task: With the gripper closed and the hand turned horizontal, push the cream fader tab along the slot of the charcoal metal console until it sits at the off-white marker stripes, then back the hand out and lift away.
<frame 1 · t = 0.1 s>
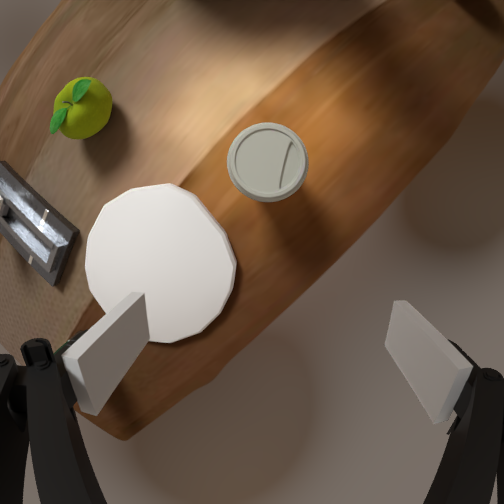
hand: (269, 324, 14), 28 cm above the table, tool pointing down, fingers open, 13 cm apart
decorative plate: (154, 266, 44), on the table
fader console: (26, 218, 43), on the table
coffee cup: (267, 167, 40), on the table
fruit: (99, 113, 39), on the table
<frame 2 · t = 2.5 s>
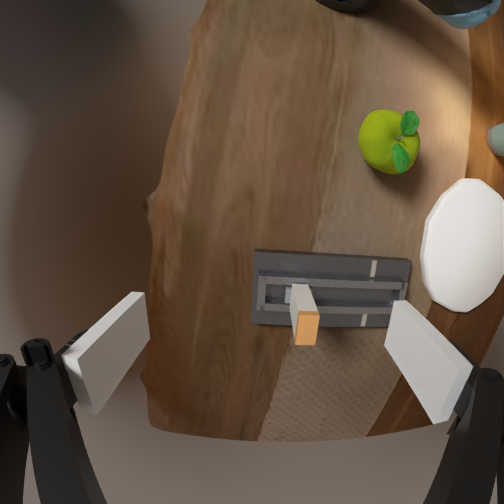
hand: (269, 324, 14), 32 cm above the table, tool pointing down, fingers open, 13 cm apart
decorative plate: (467, 246, 45), on the table
fader console: (331, 289, 47), on the table
coffee cup: (494, 141, 39), on the table
fader: (301, 308, 39), point 9 cm above the table, slide at -6.0 cm
fruit: (376, 144, 41), on the table
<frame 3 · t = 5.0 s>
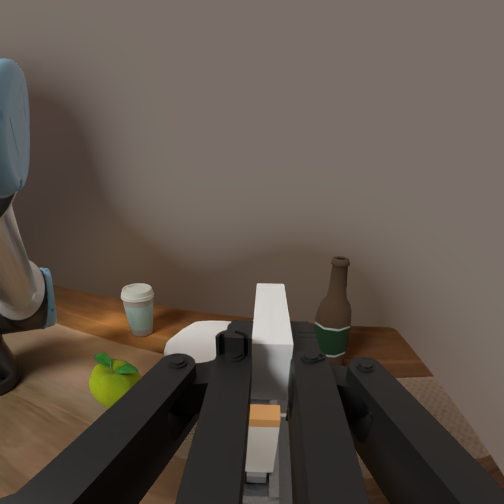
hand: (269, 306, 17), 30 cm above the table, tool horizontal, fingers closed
decorative plate: (222, 354, 64), on the table
beer bottle: (325, 365, 59), on the table
fader console: (257, 449, 37), on the table
coffee cup: (142, 332, 70), on the table
fader: (258, 445, 29), point 9 cm above the table, slide at -6.0 cm
fruit: (122, 406, 43), on the table
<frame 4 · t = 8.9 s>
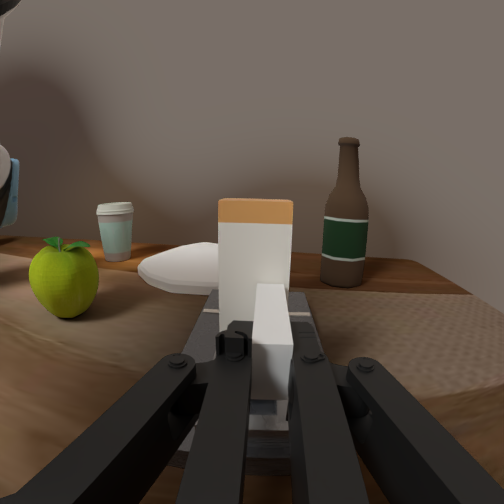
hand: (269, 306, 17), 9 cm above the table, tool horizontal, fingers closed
decorative plate: (210, 274, 53), on the table
beer bottle: (340, 282, 49), on the table
fader console: (254, 359, 26), on the table
coffee cup: (117, 259, 60), on the table
fader: (253, 301, 18), point 9 cm above the table, slide at -6.0 cm, touching gripper
fruit: (70, 314, 32), on the table
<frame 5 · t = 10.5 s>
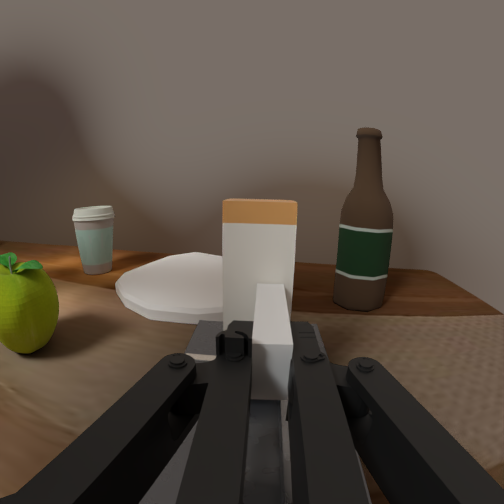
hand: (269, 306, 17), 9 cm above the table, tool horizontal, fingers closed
decorative plate: (200, 291, 44), on the table
beer bottle: (356, 302, 40), on the table
fader console: (252, 431, 17), on the table
coffee cup: (97, 271, 51), on the table
fader: (257, 301, 18), point 9 cm above the table, slide at 3.2 cm, touching gripper
fruit: (29, 347, 23), on the table
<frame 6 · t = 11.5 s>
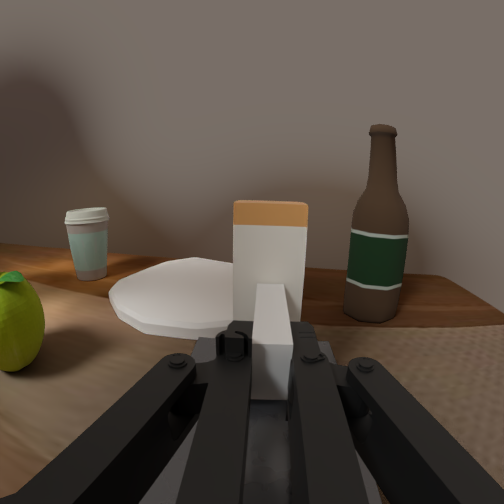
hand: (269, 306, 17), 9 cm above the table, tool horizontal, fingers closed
decorative plate: (200, 301, 41), on the table
beer bottle: (368, 313, 36), on the table
fader console: (259, 470, 14), on the table
coffee cup: (92, 277, 47), on the table
fader: (267, 303, 18), point 8 cm above the table, slide at 6.6 cm, touching gripper
fruit: (15, 364, 20), on the table
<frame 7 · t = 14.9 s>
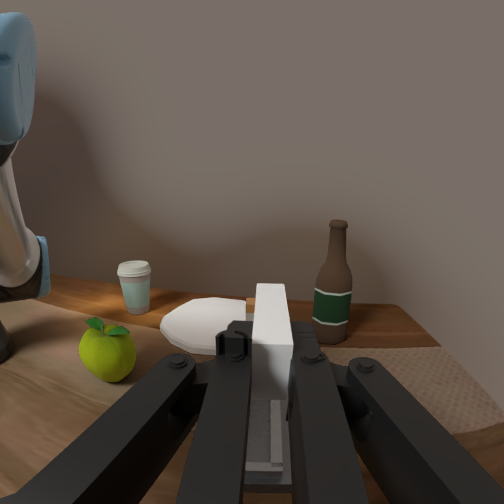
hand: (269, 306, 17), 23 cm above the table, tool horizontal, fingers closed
decorative plate: (220, 329, 63), on the table
beer bottle: (328, 337, 58), on the table
fader console: (257, 416, 35), on the table
coffee cup: (138, 310, 69), on the table
fader: (260, 341, 40), point 8 cm above the table, slide at 6.8 cm
fruit: (113, 377, 42), on the table
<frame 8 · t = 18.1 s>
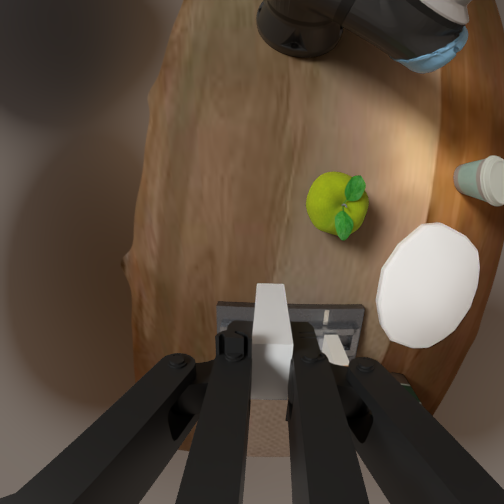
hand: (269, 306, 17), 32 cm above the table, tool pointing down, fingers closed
decorative plate: (428, 287, 50), on the table
fader console: (289, 333, 52), on the table
coffee cup: (463, 179, 44), on the table
fader: (334, 358, 44), point 9 cm above the table, slide at 6.8 cm
fruit: (329, 201, 47), on the table
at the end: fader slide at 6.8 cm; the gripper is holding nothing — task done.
